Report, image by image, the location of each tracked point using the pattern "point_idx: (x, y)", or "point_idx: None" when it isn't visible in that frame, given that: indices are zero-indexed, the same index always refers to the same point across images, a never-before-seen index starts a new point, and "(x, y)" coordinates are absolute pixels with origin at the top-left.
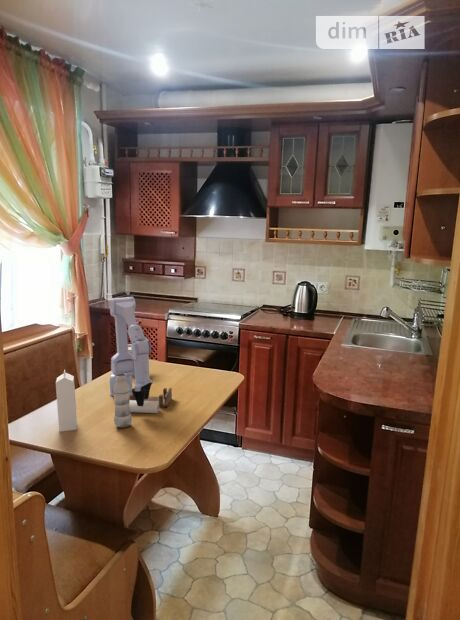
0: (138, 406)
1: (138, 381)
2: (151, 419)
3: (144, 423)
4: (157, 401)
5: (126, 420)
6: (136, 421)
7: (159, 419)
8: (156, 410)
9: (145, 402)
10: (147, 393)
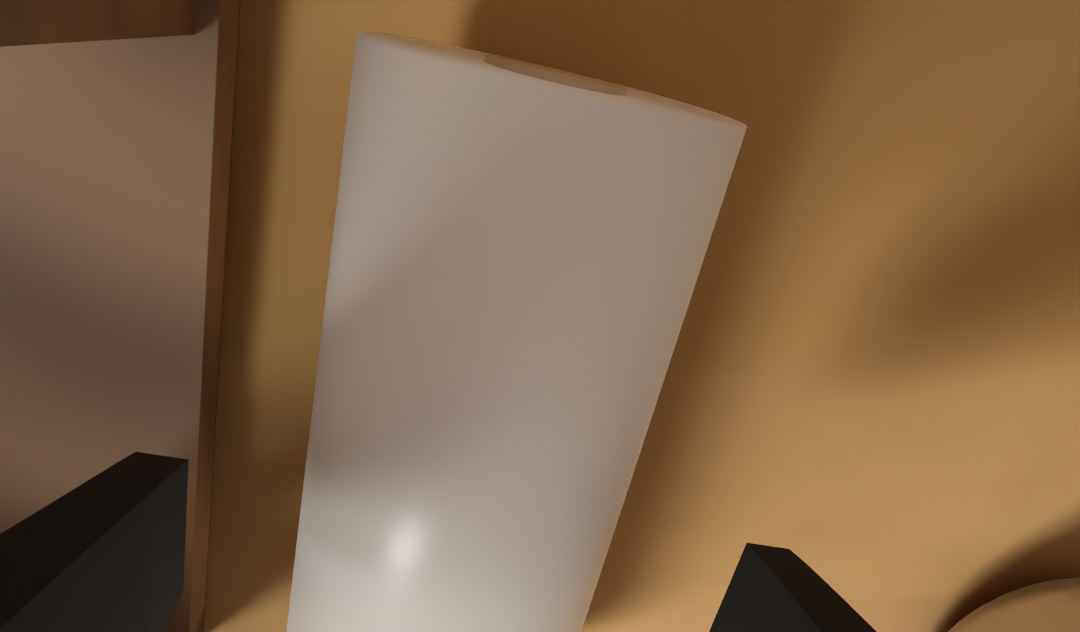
0: (589, 601)
1: None
2: (921, 213)
3: (1061, 342)
4: (562, 105)
5: None
6: (911, 484)
7: (990, 17)
8: (717, 113)
9: (554, 509)
10: (69, 616)
